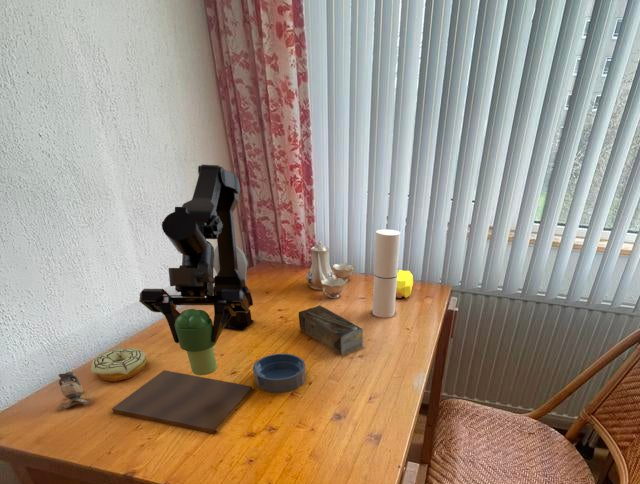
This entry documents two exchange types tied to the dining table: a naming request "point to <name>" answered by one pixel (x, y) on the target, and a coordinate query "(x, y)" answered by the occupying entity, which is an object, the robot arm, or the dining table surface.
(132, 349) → the decorated donut
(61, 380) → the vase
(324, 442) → the dining table surface
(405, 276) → the orange-capped yellow polyhedron
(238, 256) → the bottle
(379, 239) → the cylindrical container
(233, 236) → the robot arm
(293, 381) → the bowl
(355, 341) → the beverage carton
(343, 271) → the chinaware
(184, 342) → the broccoli
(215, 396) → the board
